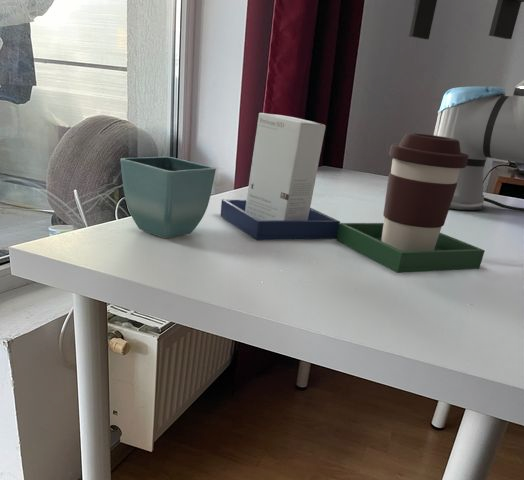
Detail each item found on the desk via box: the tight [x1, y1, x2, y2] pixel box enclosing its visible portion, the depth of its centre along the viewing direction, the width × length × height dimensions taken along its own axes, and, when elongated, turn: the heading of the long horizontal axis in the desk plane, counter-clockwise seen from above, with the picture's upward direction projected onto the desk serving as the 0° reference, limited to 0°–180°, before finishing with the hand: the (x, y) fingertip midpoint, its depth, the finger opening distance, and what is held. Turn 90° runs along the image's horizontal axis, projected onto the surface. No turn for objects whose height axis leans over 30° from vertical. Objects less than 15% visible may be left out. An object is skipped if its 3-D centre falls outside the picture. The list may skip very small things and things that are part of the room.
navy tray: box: [220, 198, 341, 241], centre depth 83 cm, size 13×13×3 cm
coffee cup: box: [381, 132, 469, 251], centre depth 74 cm, size 10×10×15 cm
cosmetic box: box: [245, 112, 327, 221], centre depth 80 cm, size 8×6×15 cm
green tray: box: [335, 222, 485, 274], centre depth 77 cm, size 14×14×3 cm
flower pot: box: [119, 156, 217, 239], centre depth 72 cm, size 9×9×9 cm
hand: (456, 38), depth 66 cm, fingers open, 13 cm apart
